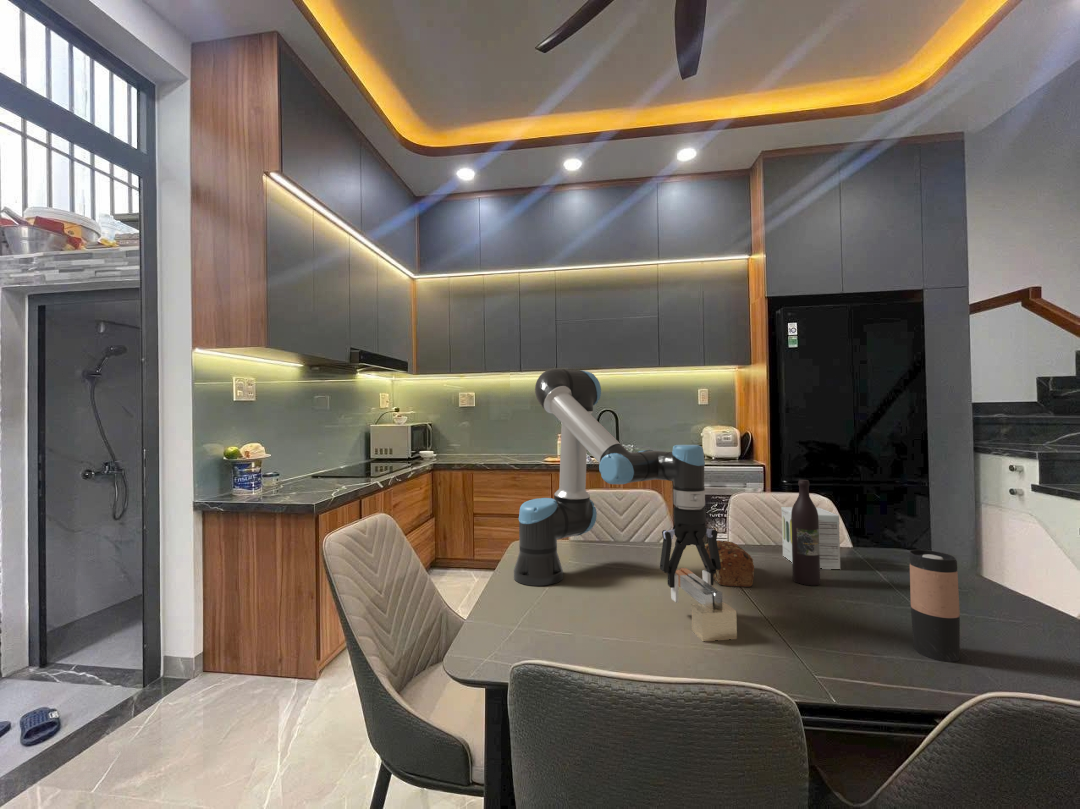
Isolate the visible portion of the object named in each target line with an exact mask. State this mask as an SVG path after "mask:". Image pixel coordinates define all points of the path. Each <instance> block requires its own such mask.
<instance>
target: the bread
mask: <svg viewBox="0 0 1080 809" xmlns="http://www.w3.org/2000/svg"><path fill="white" fill-rule="evenodd" d="M717 545H718V551H719V557H720V563H721V569H720V570H716V573H715V574H713V575H714V580H715V582H716V581H717V582H716V583H717V584H719V585H720V586H726V587H739V588H740V587H743V588H749V587H752V586H753V583H754V579H755V576H754V575H755V564H754V559H753V557H751V555H750V554H749V553H748V552H747V551H746V550H744V549H743V547H740V546H739V545H738V544H736V543H735V542H733V541H727V540H717ZM705 548H706V551H707V553H708V556H709V558H710V552H709V546H708V543H706V544H705ZM710 560H711V558H710Z"/></svg>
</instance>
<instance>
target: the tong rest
mask: <svg viewBox="0 0 1080 809" xmlns="http://www.w3.org/2000/svg"><path fill="white" fill-rule="evenodd" d="M675 573H676V574H677V575H678V588H680V589H682V590H683V591H684V592H685V593H687V594H688V595H689V596H690V597H692V599H694V600H695V601H697V602H698V603H693V604H691V606H690V607H691V632H692V631H693V632H694V633H695V634H694V633H693V632H692V633H693V634H694V635H695V636H696V635H697V636H696V637H697V638H698V639H699V640H700V639H701V640H702V641H705V642H713V641H714V642H716V641H715V640H718V641H728V640H729V639H731V640H737V639H738V631H737V630H738V625H737V622H738V621H737V620H738V619H737V610H735V609H734V608H733V607H731V606H730V605H729V604H728V603H725V602H723V601H722V608H720V609H719V608H714V607H713V599H712V594H711V593H710V592H709V591H707V590H706V589H704V588H703V587H702V586H700V585H699V584H698V583H696V582H695V581H694V580H692V579H691V578H690V577H688V576H687V575H686V574H685V573H683V572H682V571H681V570H680V569H677V570H676V572H675ZM701 640H700V641H701ZM702 641H701V642H702Z"/></svg>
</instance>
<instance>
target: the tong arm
mask: <svg viewBox="0 0 1080 809" xmlns="http://www.w3.org/2000/svg"><path fill="white" fill-rule="evenodd" d="M679 570H681V571H682V572H683V573H685V574H686V575H687V576H688V577H690V578H691V579H692V580H694V581H695V582H696V583H698V584H699V585H700V586H702V587H703V588H704V589H706V590H707V591H709V592H710V593H711V594H712V599H713V607H714V608H719V609H720V608H722V602H723V591H721V590H718V589H717V588H715V587H714V586H713V585H709V584H708V583H706V582H705V581H704V580H702V578H701V577H699V576H698V575H696V574H695V573H694V572H692V571H691V570H690V569H689V568H687V567H681V568H679Z"/></svg>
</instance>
